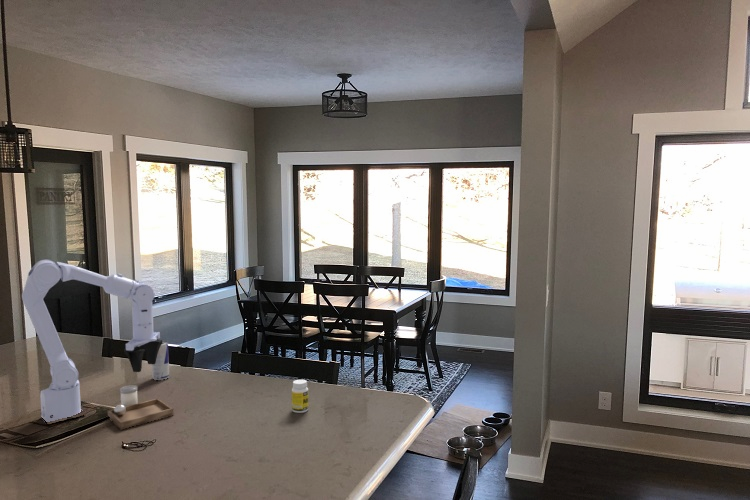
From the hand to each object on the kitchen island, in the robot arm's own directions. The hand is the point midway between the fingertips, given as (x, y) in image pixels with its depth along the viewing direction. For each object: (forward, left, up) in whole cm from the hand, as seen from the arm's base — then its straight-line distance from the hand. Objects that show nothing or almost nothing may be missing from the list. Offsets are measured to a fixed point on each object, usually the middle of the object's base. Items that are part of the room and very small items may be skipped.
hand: (144, 367), depth 162 cm
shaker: (-6, -3, -10) cm, 12 cm away
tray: (-6, -12, -10) cm, 17 cm away
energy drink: (+11, +17, -10) cm, 23 cm away
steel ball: (-10, -9, -8) cm, 16 cm away
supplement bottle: (+29, -39, -10) cm, 50 cm away
